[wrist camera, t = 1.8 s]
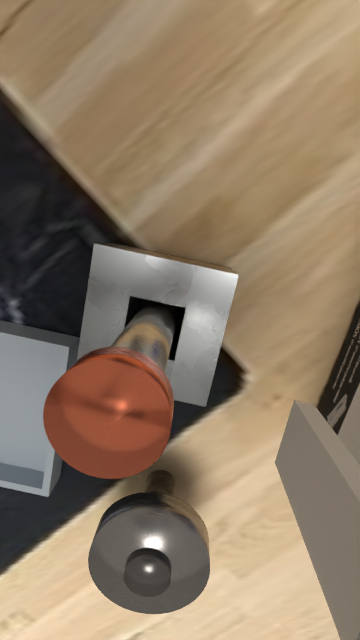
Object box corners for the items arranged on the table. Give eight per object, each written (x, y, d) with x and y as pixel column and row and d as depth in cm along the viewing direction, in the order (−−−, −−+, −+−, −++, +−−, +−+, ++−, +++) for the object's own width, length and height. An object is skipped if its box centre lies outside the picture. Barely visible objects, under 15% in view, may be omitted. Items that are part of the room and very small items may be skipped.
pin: (140, 282, 26) (51, 349, 10) (191, 293, 26) (182, 377, 10) (131, 331, 27) (36, 464, 11) (180, 342, 27) (157, 490, 11)
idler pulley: (124, 433, 29) (94, 513, 21) (215, 452, 29) (223, 540, 21) (109, 509, 31) (76, 612, 22) (195, 528, 31) (194, 637, 22)
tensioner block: (113, 242, 26) (94, 243, 21) (230, 268, 26) (238, 274, 21) (95, 354, 28) (74, 378, 23) (204, 377, 28) (205, 406, 23)
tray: (-44, 310, 27) (-68, 317, 25) (80, 337, 27) (69, 347, 25) (-52, 452, 30) (-74, 470, 28) (60, 476, 30) (48, 496, 28)
